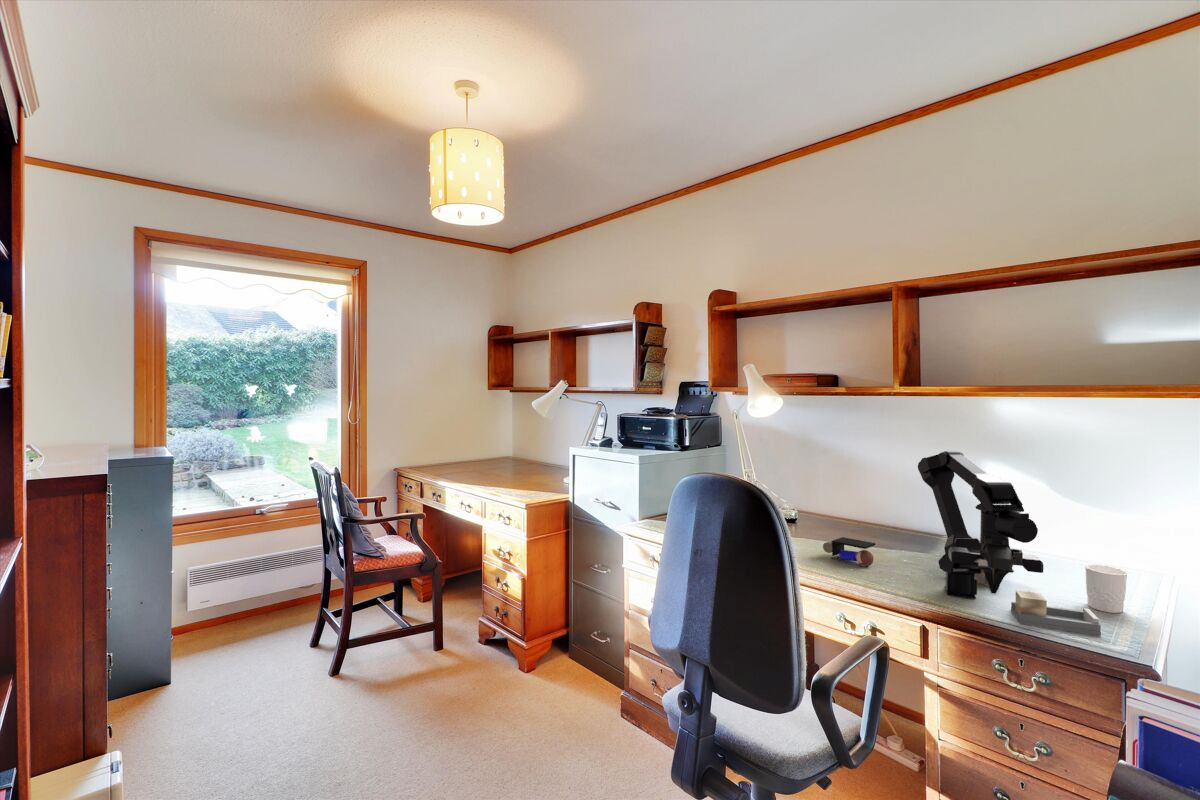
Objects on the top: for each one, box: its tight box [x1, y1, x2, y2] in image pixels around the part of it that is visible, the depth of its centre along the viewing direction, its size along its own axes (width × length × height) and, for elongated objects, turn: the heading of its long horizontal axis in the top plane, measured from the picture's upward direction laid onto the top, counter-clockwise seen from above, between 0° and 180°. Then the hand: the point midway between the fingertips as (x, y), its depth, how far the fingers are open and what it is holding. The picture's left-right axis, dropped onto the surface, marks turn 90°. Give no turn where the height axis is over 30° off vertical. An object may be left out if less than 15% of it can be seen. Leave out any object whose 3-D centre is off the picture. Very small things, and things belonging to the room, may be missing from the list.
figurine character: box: [822, 536, 876, 567], centre depth 180 cm, size 7×8×15 cm
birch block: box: [1014, 590, 1048, 616], centre depth 135 cm, size 5×5×5 cm
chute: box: [1010, 600, 1102, 637], centre depth 134 cm, size 15×9×3 cm, turn 65°
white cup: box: [1085, 563, 1128, 614], centre depth 142 cm, size 8×8×10 cm
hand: (993, 593), depth 139 cm, fingers closed
